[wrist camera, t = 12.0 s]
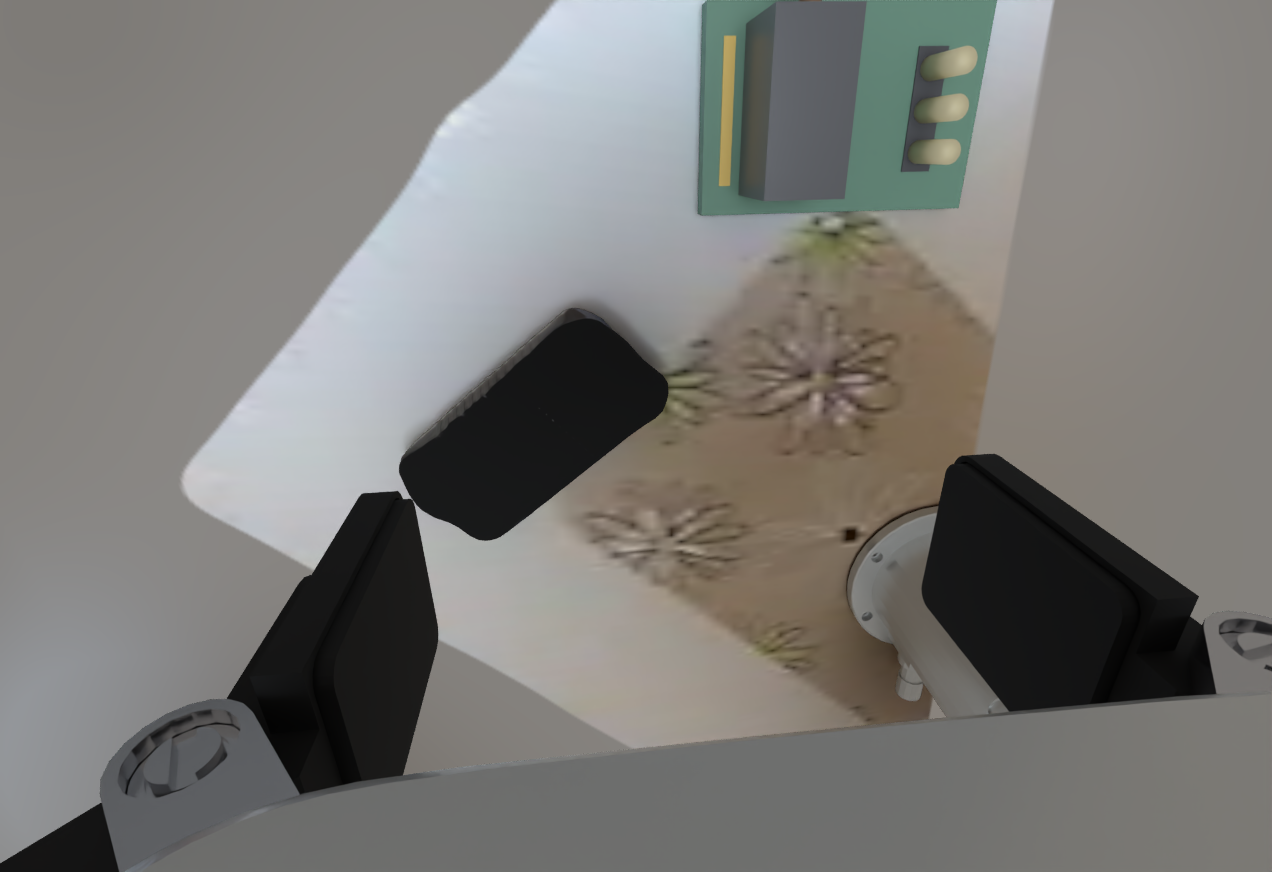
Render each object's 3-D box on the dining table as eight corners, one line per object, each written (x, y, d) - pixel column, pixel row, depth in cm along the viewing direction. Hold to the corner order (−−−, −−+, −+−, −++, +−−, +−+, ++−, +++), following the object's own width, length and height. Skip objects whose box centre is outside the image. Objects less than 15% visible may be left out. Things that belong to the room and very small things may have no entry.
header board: (946, 206, 37) (992, 213, 33) (697, 213, 36) (713, 221, 32) (982, 4, 33) (1040, -16, 29) (702, 5, 32) (721, -16, 28)
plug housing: (808, 193, 35) (844, 199, 30) (738, 194, 34) (763, 201, 30) (828, -33, 30) (874, -65, 26) (748, -33, 30) (780, -66, 26)
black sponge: (585, 285, 37) (586, 298, 34) (671, 385, 40) (680, 406, 37) (395, 449, 40) (379, 476, 37) (489, 530, 44) (482, 562, 40)
